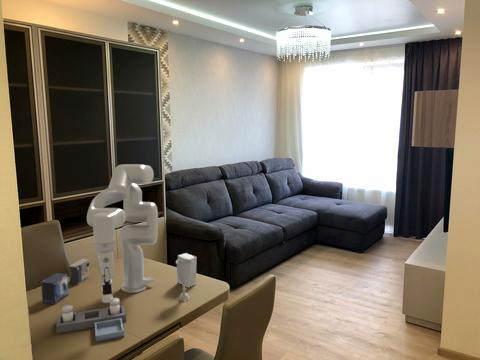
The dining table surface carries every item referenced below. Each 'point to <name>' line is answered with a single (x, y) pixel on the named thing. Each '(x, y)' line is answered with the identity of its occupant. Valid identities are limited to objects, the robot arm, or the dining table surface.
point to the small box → (54, 288)
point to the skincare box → (192, 276)
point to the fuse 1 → (67, 313)
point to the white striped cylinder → (108, 297)
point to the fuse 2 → (114, 306)
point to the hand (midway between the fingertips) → (107, 291)
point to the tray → (109, 330)
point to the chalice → (183, 274)
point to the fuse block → (88, 319)
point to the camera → (79, 271)
